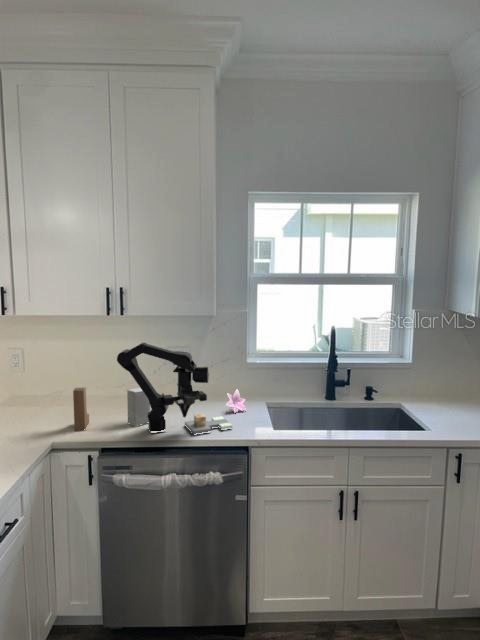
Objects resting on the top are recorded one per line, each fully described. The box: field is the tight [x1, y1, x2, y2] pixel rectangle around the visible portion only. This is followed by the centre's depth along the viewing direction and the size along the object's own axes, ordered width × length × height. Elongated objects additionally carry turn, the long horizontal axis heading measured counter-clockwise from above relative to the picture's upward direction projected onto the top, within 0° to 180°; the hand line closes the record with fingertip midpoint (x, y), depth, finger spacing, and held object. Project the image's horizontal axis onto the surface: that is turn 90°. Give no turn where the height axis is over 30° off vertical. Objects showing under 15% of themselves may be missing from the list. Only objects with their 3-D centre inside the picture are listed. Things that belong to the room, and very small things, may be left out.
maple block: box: [193, 413, 207, 427], centre depth 192 cm, size 4×4×4 cm
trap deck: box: [184, 415, 233, 435], centre depth 194 cm, size 18×12×2 cm, turn 115°
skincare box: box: [126, 387, 151, 427], centre depth 197 cm, size 8×7×16 cm
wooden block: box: [72, 387, 90, 431], centre depth 191 cm, size 9×4×18 cm, turn 8°
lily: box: [225, 388, 247, 413], centre depth 216 cm, size 12×12×10 cm
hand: (184, 417), depth 188 cm, fingers closed
